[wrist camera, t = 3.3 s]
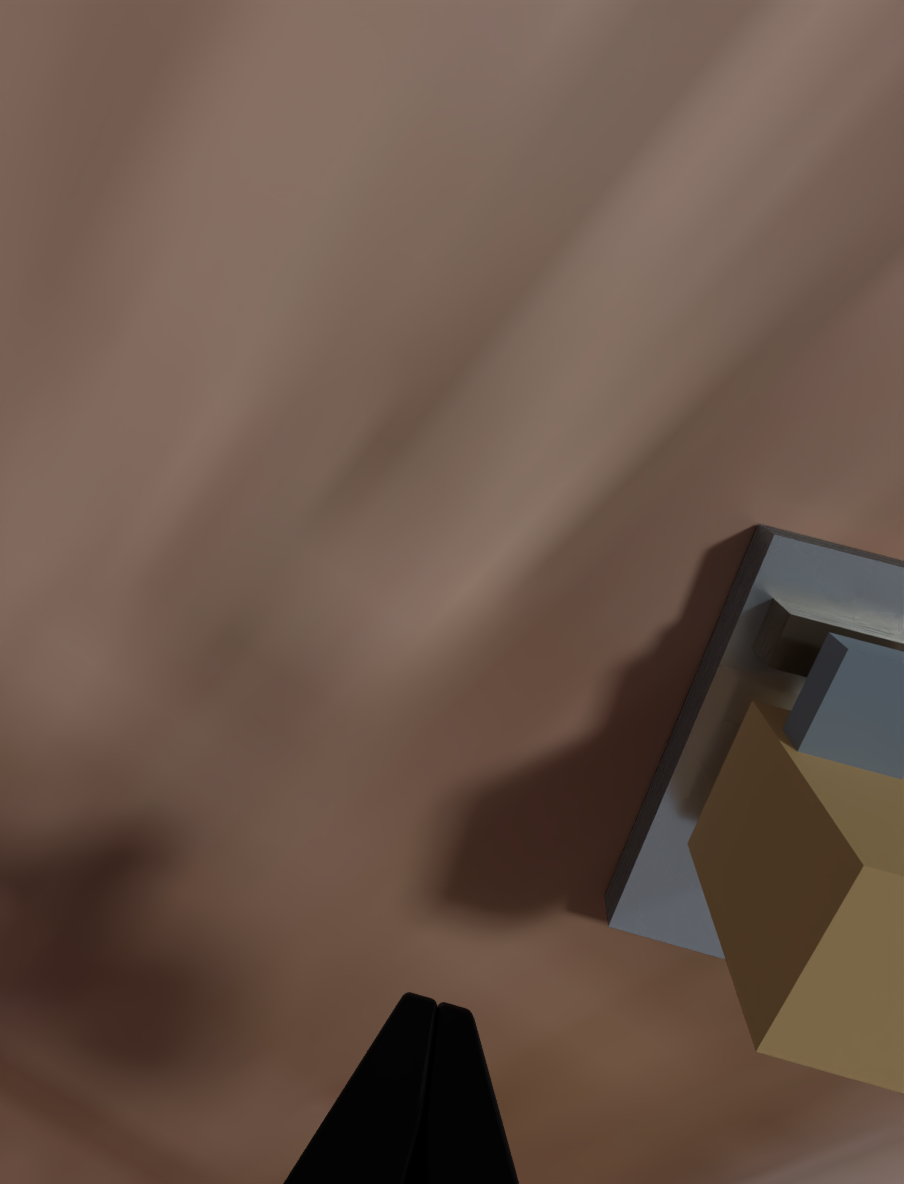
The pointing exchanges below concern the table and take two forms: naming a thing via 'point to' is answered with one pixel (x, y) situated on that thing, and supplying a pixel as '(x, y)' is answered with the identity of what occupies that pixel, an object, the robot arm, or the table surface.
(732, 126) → the table surface
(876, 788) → the leg
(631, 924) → the plate
